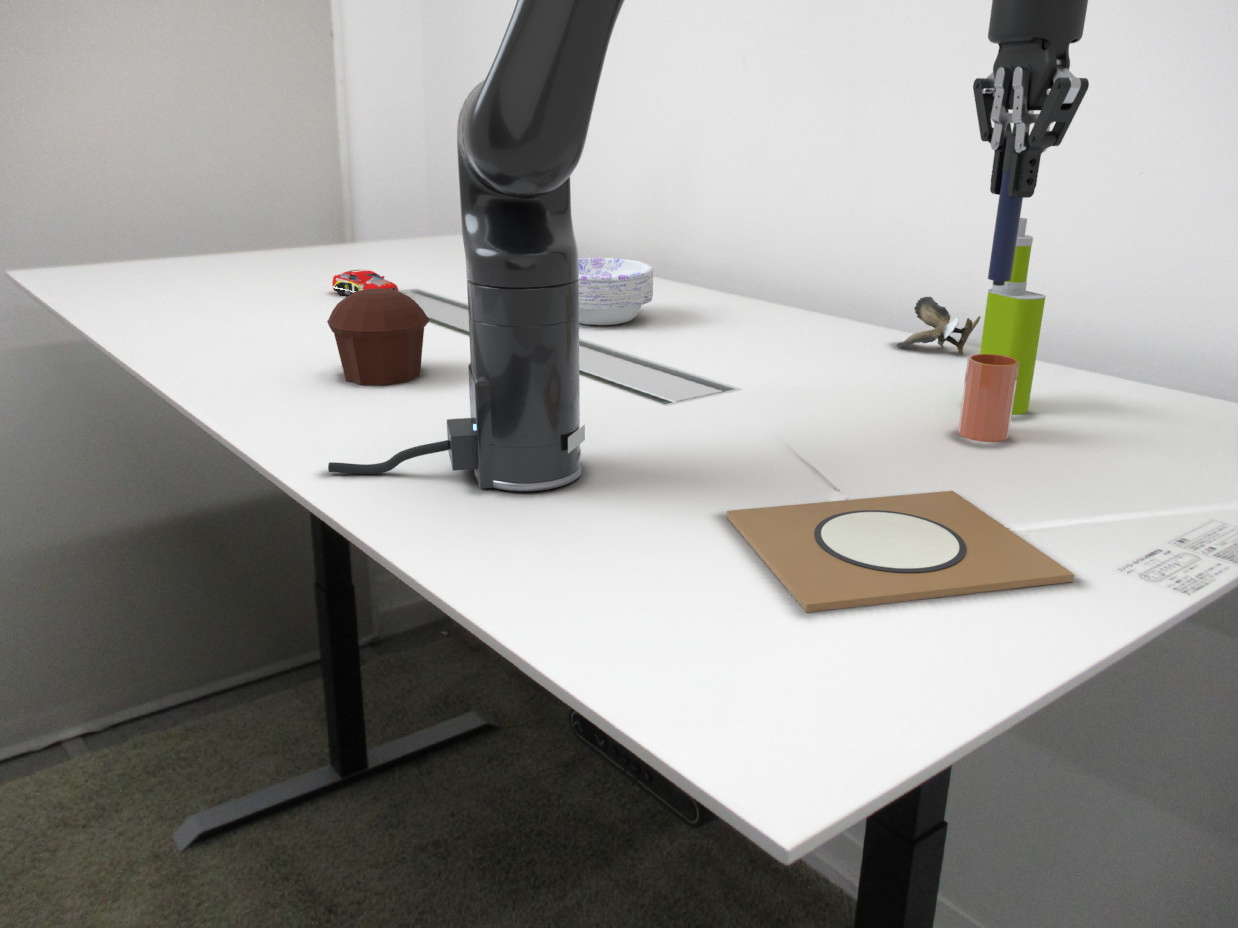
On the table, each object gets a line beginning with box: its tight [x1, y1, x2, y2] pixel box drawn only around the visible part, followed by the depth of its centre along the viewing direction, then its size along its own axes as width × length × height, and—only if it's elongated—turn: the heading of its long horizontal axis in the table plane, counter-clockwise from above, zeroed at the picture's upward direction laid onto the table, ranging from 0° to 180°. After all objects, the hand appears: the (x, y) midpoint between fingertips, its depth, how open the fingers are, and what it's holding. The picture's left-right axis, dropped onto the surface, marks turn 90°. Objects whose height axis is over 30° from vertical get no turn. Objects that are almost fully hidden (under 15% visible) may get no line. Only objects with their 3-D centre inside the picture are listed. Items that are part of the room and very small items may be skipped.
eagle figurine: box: [896, 296, 981, 356], centre depth 132 cm, size 8×7×9 cm
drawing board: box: [726, 490, 1075, 613], centre depth 75 cm, size 20×16×1 cm
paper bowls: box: [579, 257, 654, 326], centre depth 148 cm, size 15×15×8 cm
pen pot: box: [957, 353, 1019, 443], centre depth 98 cm, size 5×5×8 cm
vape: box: [979, 217, 1046, 416], centre depth 104 cm, size 4×6×20 cm, turn 27°
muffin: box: [326, 288, 430, 386], centre depth 118 cm, size 12×11×10 cm
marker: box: [987, 136, 1024, 286], centre depth 91 cm, size 2×2×13 cm
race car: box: [331, 269, 399, 296], centre depth 164 cm, size 13×5×4 cm, turn 50°
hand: (1011, 195), depth 90 cm, fingers closed on marker, 2 cm apart
